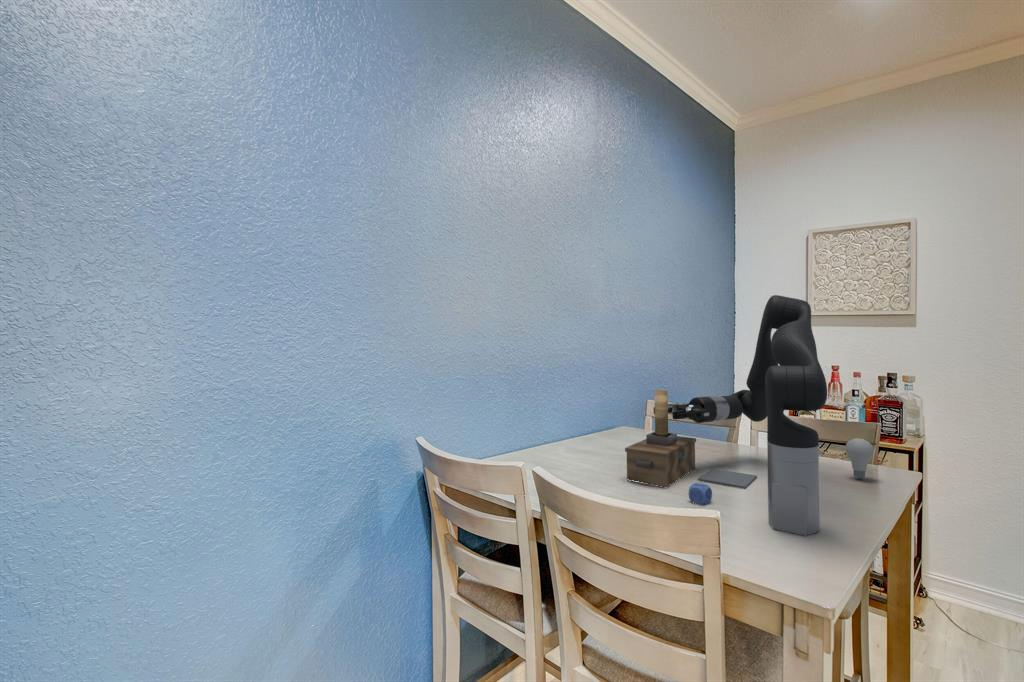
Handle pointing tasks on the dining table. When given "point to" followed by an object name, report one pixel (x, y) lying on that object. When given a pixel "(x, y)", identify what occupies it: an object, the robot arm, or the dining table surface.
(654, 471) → the toolbox
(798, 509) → the robot arm
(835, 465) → the dining table surface
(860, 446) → the lightbulb
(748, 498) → the dining table surface
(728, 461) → the dining table surface
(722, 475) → the mat
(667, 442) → the dark grey square tray
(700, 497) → the decorative dice
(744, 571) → the dining table surface
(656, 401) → the pin
